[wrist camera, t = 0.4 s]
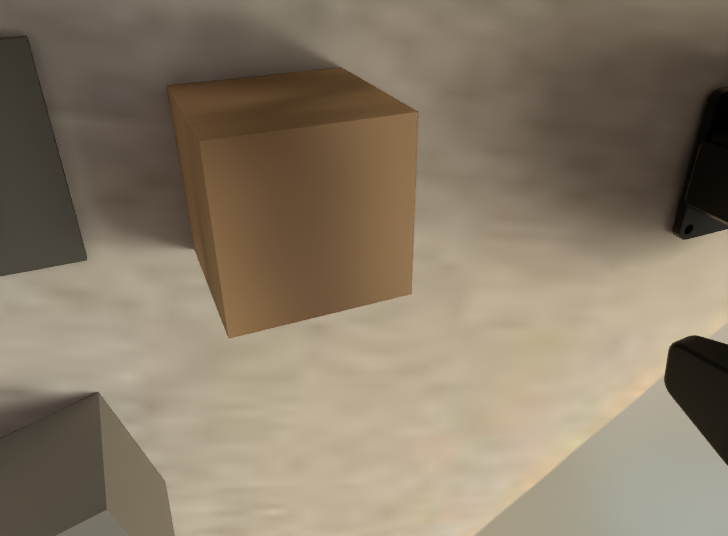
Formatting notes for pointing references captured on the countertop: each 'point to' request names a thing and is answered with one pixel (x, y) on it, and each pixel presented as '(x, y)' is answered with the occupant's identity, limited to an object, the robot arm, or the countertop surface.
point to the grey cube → (80, 478)
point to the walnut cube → (297, 193)
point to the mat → (31, 173)
